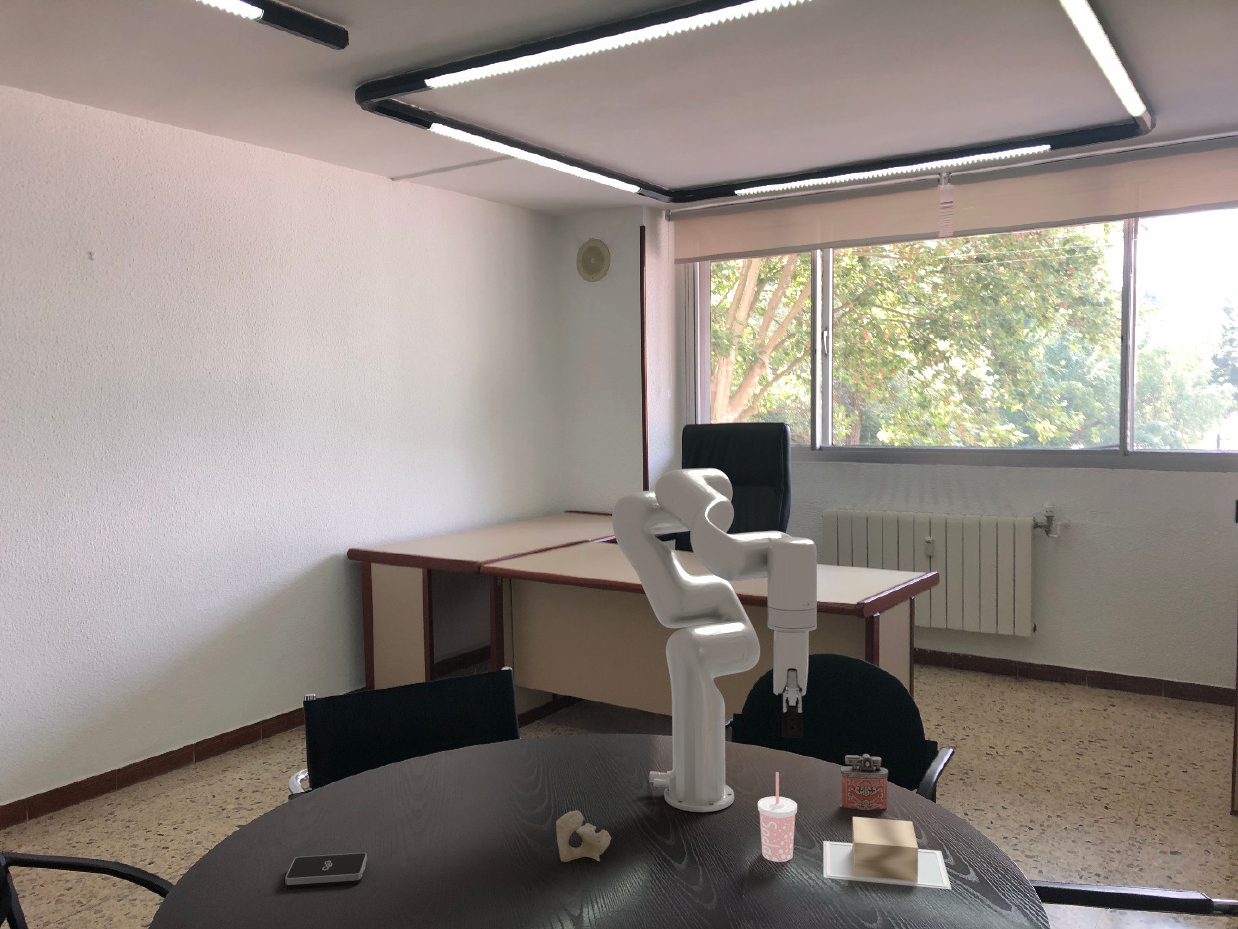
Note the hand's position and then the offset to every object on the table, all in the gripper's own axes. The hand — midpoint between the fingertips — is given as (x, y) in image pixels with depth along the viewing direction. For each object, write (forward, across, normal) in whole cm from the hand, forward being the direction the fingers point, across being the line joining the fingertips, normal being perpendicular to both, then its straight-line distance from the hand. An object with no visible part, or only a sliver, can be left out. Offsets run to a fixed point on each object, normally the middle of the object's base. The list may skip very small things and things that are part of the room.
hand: (792, 726), depth 145 cm
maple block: (+20, +2, +14) cm, 24 cm away
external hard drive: (+22, +17, -70) cm, 75 cm away
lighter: (+21, -19, +12) cm, 31 cm away
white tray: (+21, +2, +14) cm, 25 cm away
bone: (+21, +4, -32) cm, 39 cm away
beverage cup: (+21, +1, -2) cm, 21 cm away
